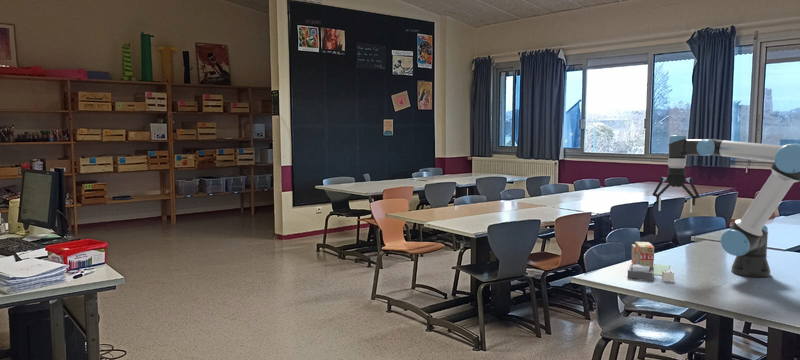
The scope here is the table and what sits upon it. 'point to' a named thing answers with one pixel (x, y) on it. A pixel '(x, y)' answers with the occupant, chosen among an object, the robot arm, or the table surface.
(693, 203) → the robot arm
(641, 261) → the printed cardboard box
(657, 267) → the square one pad
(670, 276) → the die
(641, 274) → the box
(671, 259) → the table surface
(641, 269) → the white rounded block
